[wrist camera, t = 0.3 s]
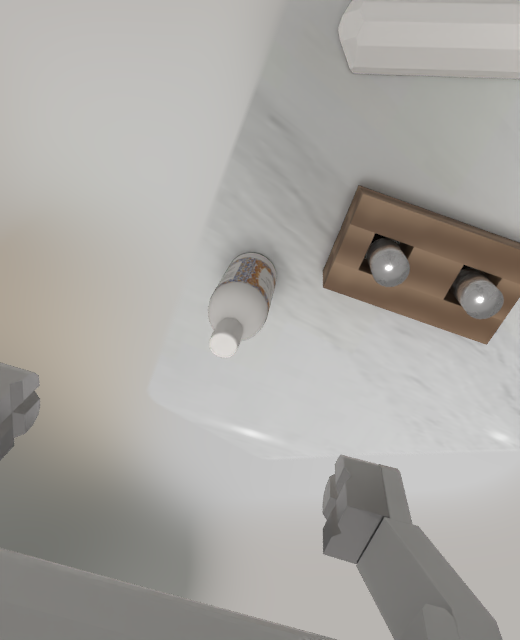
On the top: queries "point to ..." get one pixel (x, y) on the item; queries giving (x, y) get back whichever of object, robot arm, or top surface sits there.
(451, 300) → the brown wooden block
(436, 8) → the crystal
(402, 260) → the peg
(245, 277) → the bath foam
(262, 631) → the robot arm
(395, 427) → the top surface
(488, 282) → the peg
